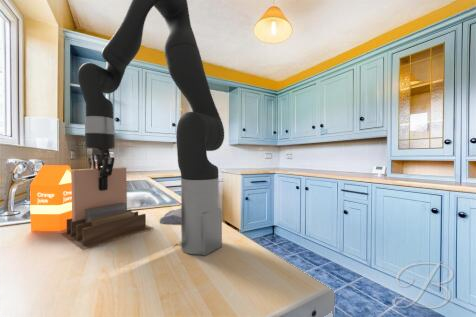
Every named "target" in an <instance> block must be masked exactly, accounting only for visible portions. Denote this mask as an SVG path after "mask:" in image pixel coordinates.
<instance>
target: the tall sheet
mask: <svg viewBox="0 0 476 317" xmlns="http://www.w3.org/2000/svg"><path fill="white" fill-rule="evenodd" d="M107 178H108V189H107V190H102V191H101V190H99V177H98V170H96V169H90V168H84V169H82V168H81V169H71V192H72V222H73V221H77V220H82V219H85V209H89V208H94V207H100V206H105V205H111V204H117V203H126V204H127V205H128V197H127V196H128V195H127V194H128V192H127V190H128V189H127V188H128V186H127V184H128V183H127V167H124V166H123V167H113V169H112V174H111V176H109V177H107Z"/></svg>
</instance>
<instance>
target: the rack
mask: <svg viewBox="0 0 476 317" xmlns="http://www.w3.org/2000/svg"><path fill="white" fill-rule="evenodd" d="M127 211H131V212H132V209H127ZM133 212H134V216H133V217H129V218H125V219H120V220H116V221H112V222H108V223H104V224H100V225H95V226H91V222H88V223H85V219H82V220H77V221H73V222H72V218H71V219H66V227H67V228H66V231H63V232H60V233H59V234H60V235H62V236H64V238H66V239H67V240H68V241H70V243H72V244H74V245H75V246H76V247H78V248H79V249H80V250H82V251H85V250H88V249H92V248H95V247H99V246H102V245H106V244H108V243H112V242H114V241H118V240H120V239H121V240H122V239H124V238H127V237H131V236H134V235H137V234H140V233H144V232H146V231H150V230H153V229H155V227H153V226H149V225H147V224H146V223H147V220H146V218H147V217H146V213H142V214H139V211H133Z"/></svg>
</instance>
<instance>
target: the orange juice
mask: <svg viewBox="0 0 476 317" xmlns="http://www.w3.org/2000/svg"><path fill="white" fill-rule="evenodd" d="M71 170H72V169H71V167H70V165H68V164H67V165H42V166H41V167H40V168H39V170H38V171H37V173H36V175H35V177H34V178H33V180H32V181H31V183H30V185H29V190H30V191H29V196H30V197H29V199H30V200H29V201H30V206H29V207H30V208H29V209H30V210H29V211H30V212H29V213H30V214H29V215H30V232H60V231H64V230H67V227H66V219H71V218H72V192H71Z"/></svg>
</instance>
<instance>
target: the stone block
mask: <svg viewBox="0 0 476 317" xmlns="http://www.w3.org/2000/svg"><path fill="white" fill-rule="evenodd" d="M159 223H160V224H161V225H181V208H177V209H173V210H170V211H168V212H166V213H165V214H164V215H163V217H161V218H160V219H159Z"/></svg>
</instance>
